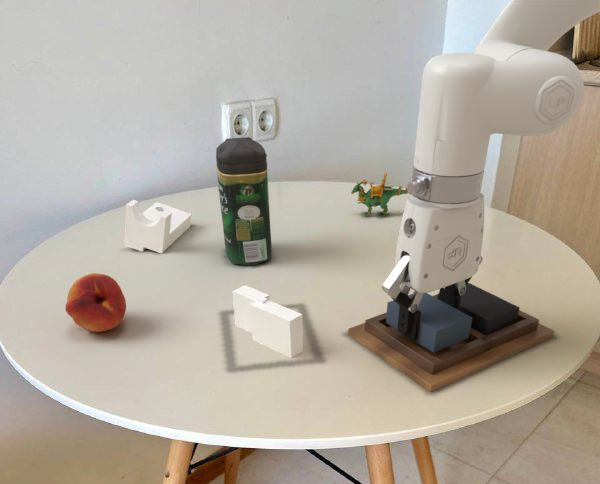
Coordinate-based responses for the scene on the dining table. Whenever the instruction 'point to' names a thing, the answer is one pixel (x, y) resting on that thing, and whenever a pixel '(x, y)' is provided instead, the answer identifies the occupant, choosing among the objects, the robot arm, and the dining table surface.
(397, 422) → the dining table surface
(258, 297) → the white stepped block
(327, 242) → the dining table surface
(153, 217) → the bracket
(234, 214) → the coffee jar
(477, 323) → the pad near
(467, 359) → the wooden tray
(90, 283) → the fruit
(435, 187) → the robot arm
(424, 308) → the pad front
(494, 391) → the dining table surface
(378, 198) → the figurine
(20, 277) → the dining table surface
